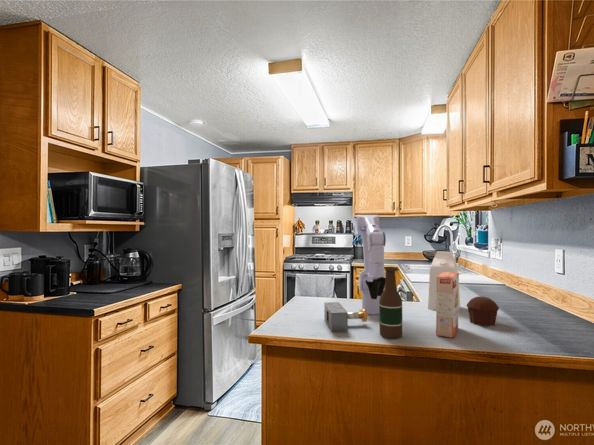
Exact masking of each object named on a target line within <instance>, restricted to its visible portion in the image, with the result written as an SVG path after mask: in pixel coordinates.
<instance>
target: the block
mask: <svg viewBox="0 0 594 445" xmlns="http://www.w3.org/2000/svg"><path fill="white" fill-rule="evenodd" d="M323 307H324V309H323V310H324V321H325V323H326V325H327V327H328V329H329V330H330V332H331V333H344V332H348V331H349V327H348V326H349V324H348V323H349V321H348V320H349V319H348V311H347V310H346V308H345V307H344V306H343V305H342V304H341V303H340V302H339V301H336V302H335V301H334V302H333V301H332V302H324V304H323Z"/></svg>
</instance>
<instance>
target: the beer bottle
mask: <svg viewBox="0 0 594 445" xmlns="http://www.w3.org/2000/svg"><path fill="white" fill-rule="evenodd" d="M396 271H397V269H396V267H393V266H387V267H384V272H385V277H384V278H385V287H384V291H383V293H382V294H381V297H380V302H379V314H378V315H379V317H378V318H379V335H380V336H381V338H383V339H389V340H399V339H400V338H402V337H403V299H402V297H401V294H400V293H399V292H398V289H397V288H398V287H397V280H396V279H397V278H396Z"/></svg>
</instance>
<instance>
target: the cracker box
mask: <svg viewBox="0 0 594 445" xmlns="http://www.w3.org/2000/svg"><path fill="white" fill-rule="evenodd" d="M459 275H460V273H459V272H458V273H453V272H443V273H441V274H440V275H439V276H437V289H436V310H435V311H436V312H435V313H436V315H435V317H436V321H435V324H436V325H435V327H436V328H435V333H436V336H440V337H445V338H450V339H454V337H455V335H456V333H457V331H458V328H459V310H458V289H459V290H460V281H459V280H460V276H459Z"/></svg>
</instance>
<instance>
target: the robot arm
mask: <svg viewBox="0 0 594 445" xmlns="http://www.w3.org/2000/svg"><path fill="white" fill-rule="evenodd" d="M356 232H357V234H358V235H359V236H360V237H361V241H362V251H363V252H362V253H363V267H364V270H362V271H361V272H359V275H358V290H359V292H361V308H359V312H361V309H366V312H367V315H379V302H380V297H381V294H382V293H383V291H384V289H385V277H386V271H385V247H386V243H387V242H386V241H387V238H386V237H387V236H386V232H385V231H382V230H381V228H380V217H379V215H378V214H357V215H356Z"/></svg>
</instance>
